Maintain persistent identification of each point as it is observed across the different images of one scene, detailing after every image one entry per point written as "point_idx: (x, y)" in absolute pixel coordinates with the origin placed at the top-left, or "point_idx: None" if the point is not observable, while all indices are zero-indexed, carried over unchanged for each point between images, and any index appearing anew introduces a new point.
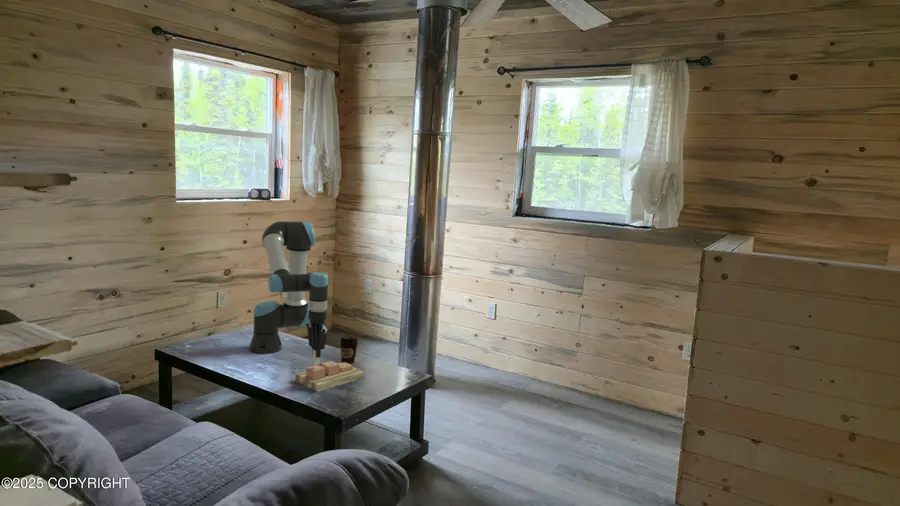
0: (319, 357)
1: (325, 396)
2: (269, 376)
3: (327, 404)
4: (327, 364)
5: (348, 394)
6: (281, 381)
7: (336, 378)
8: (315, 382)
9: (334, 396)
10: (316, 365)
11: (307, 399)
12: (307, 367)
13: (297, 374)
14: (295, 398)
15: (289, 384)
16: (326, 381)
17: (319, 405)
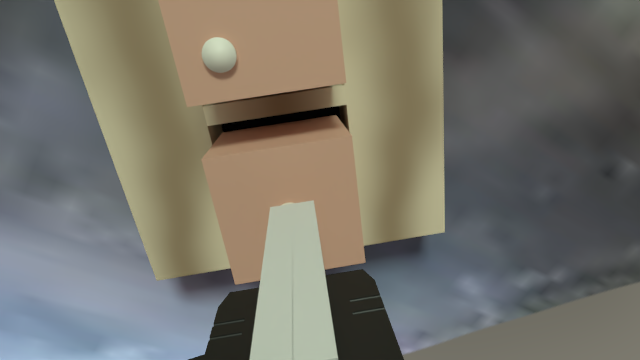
0: (320, 251)
1: (510, 198)
2: (37, 352)
3: (600, 235)
4: (253, 50)
5: (591, 53)
6: (153, 321)
7: (422, 40)
8: (394, 227)
9: (548, 152)
10: (225, 179)
11: (475, 293)
12: (242, 277)
13: (177, 274)
14: (425, 334)
15: (223, 300)
16: (427, 150)
17: (578, 272)
